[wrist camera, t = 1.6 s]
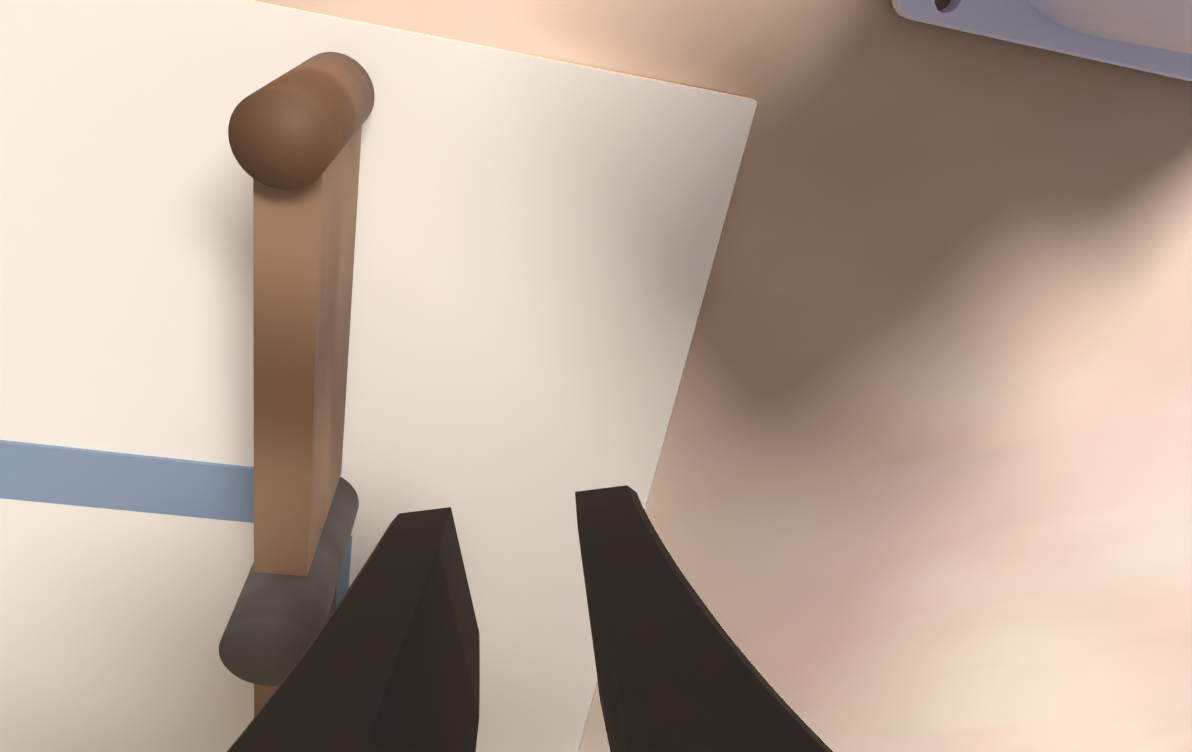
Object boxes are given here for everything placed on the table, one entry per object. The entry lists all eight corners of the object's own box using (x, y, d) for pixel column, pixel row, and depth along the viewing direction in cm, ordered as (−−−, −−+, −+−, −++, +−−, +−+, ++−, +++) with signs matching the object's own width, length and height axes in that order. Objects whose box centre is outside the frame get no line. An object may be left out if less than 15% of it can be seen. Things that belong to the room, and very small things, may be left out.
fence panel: (350, 473, 19) (311, 595, 16) (288, 467, 19) (235, 588, 15) (376, 59, 15) (333, 100, 11) (297, 45, 15) (227, 81, 11)
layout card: (752, 98, 16) (759, 103, 16) (563, 787, 27) (564, 802, 26) (-409, -130, 13) (-441, -132, 13) (-122, 753, 23) (-135, 769, 23)
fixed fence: (283, 466, 19) (217, 616, 15) (361, 475, 20) (317, 623, 15) (278, 742, 24) (226, 915, 20) (341, 745, 24) (303, 916, 20)
